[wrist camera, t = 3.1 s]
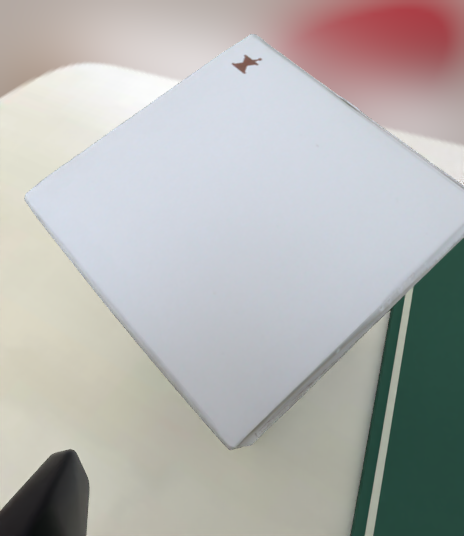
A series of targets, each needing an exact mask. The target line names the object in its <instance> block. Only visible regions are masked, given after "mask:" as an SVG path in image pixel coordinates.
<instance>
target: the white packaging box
mask: <svg viewBox="0 0 464 536" xmlns="http://www.w3.org/2000/svg"><path fill="white" fill-rule="evenodd" d="M24 199H25V201H26V203H27V204H28V206H29V207H30V208H31V210H32V211H33V213H34V214H35V215H36V217H37V218H38V219H39V221H40V222H41V223H42V225H43V226H44V227H45V229H46V230H47V231H48V233H49V234H50V235H51V236H52V238H53V239H54V240H55V241H56V243H57V244H58V245H59V247H60V248H61V249H62V250H63V252H64V253H65V254H66V255H67V257H68V258H69V259H70V260H71V262H72V263H73V264H74V266H75V267H76V268H77V269H78V271H79V272H80V273H81V274H82V276H83V277H84V278H85V279H86V281H87V282H88V283H89V284H90V286H91V287H92V288H93V290H94V291H95V292H96V293H97V295H98V296H99V297H100V298H101V300H102V301H103V302H104V303H105V305H106V306H107V307H108V308H109V310H110V311H111V312H112V313H113V314H114V316H115V317H116V318H117V319H118V320H119V322H120V323H121V324H122V325H123V327H124V328H125V329H126V330H127V331H128V333H129V334H130V335H131V336H132V337H133V339H134V340H135V341H136V342H137V343H138V345H139V346H140V347H141V348H142V349H143V351H144V352H145V353H146V354H147V355H148V357H149V358H150V359H151V360H152V361H153V363H154V364H155V365H156V366H157V367H158V369H159V370H160V371H161V372H162V373H163V375H164V376H165V377H166V378H167V379H168V380H169V382H170V383H171V384H172V385H173V386H174V388H175V389H176V390H177V391H178V392H179V393H180V395H181V396H182V397H183V398H184V399H185V400H186V402H187V403H188V404H189V405H190V406H191V407H192V409H193V410H194V411H195V412H196V413H197V414H198V415H199V417H200V418H201V419H202V420H203V421H204V422H205V423H206V425H207V426H208V427H209V428H210V429H211V430H212V432H213V433H214V434H215V435H216V436H217V437H218V438H219V440H220V441H221V442H222V443H223V444H224V445H225V446H226V447H227V448H228V449H229V450H232V449H236V448H240V447H243V446H249V445H252V444H253V443H254V442H255V441H256V440H257V439H258V438H259V437H260V436H261V435H262V434H263V433H264V432H265V431H266V430H268V429H269V428H270V427H271V426H272V425H273V424H274V423H275V422H276V421H277V420H278V419H279V418H280V417H281V416H282V415H283V414H284V413H285V412H286V411H287V410H288V409H289V408H290V407H291V406H292V405H294V404H295V403H296V402H297V401H298V400H299V399H300V398H301V397H302V396H303V395H304V394H305V393H306V392H307V391H308V390H309V389H310V388H311V387H312V386H313V385H314V384H315V383H316V382H317V381H318V380H319V379H320V378H321V377H322V376H323V375H324V374H325V373H326V372H327V371H328V370H329V369H330V368H331V367H332V366H333V365H334V364H335V363H336V362H337V361H338V360H339V359H340V358H341V357H342V356H343V355H344V354H345V353H346V352H347V351H348V350H349V349H350V348H351V347H352V346H353V345H354V344H355V343H356V342H357V341H358V340H359V339H360V338H361V337H362V336H363V335H364V334H365V333H366V332H367V331H368V330H369V329H370V328H371V327H372V326H373V325H374V324H376V323H377V322H378V321H379V320H380V319H381V318H382V317H383V316H384V315H385V314H386V313H387V312H388V311H389V310H390V309H391V308H392V307H393V306H394V305H395V304H396V303H397V302H398V301H399V300H400V299H401V298H402V297H403V296H404V295H405V294H406V293H407V292H408V291H409V290H410V289H411V288H412V287H413V286H414V285H415V284H416V283H417V282H419V281H420V280H421V279H422V278H423V277H424V276H425V275H426V274H427V273H428V272H429V271H430V270H431V269H432V268H433V267H434V266H435V265H436V264H437V263H438V262H439V261H440V260H441V259H442V258H443V257H444V256H445V255H446V254H447V253H448V252H449V251H450V250H451V249H452V248H453V247H454V246H456V245H457V244H458V243H459V242H460V241H461V240H462V239H463V238H464V186H463V185H462V184H460V183H459V182H458V181H456V180H455V179H454V178H452V177H451V176H449V175H448V174H446V173H445V172H443V171H442V170H440V169H439V168H438V167H436V166H435V165H433V164H432V163H430V162H429V161H428V160H426V159H425V158H424V157H422V156H421V155H420V154H418V153H417V152H416V151H414V150H413V149H412V148H410V147H409V146H408V145H406V144H405V143H403V142H402V141H401V140H399V139H398V138H397V137H395V136H394V135H392V134H391V133H390V132H388V131H387V130H385V129H384V128H383V127H381V126H380V125H378V124H377V123H376V122H374V121H373V120H372V119H370V118H369V117H368V116H366V115H365V114H364V113H362V112H361V111H360V110H359V109H358V108H357V107H355V106H354V105H352V104H351V103H350V102H348V101H347V100H345V99H344V98H342V97H340V96H339V95H337V94H336V93H335V92H333V91H332V90H330V89H329V88H328V87H326V86H325V85H324V84H322V83H321V82H319V81H318V80H316V79H315V78H314V77H312V76H311V75H310V74H308V73H307V72H305V71H304V70H303V69H301V68H300V67H299V66H297V65H296V64H294V63H293V62H292V61H290V60H289V59H288V58H287V57H285V56H284V55H283V54H281V53H280V52H278V51H277V50H275V49H274V48H273V47H271V46H270V45H269V44H267V43H266V42H265V41H264V40H263V39H261V38H260V37H259V36H257V35H256V34H250V35H249V36H247V37H246V38H244V39H243V40H241V41H240V42H238V43H237V44H235V45H233V46H232V47H230V48H229V49H227V50H226V51H224V52H223V53H221V54H220V55H218V56H217V57H215V58H214V59H213V60H211V61H210V62H208V63H207V64H205V65H204V66H202V67H201V68H200V69H198V70H197V71H195V72H194V73H193V74H191V75H190V76H188V77H187V78H185V79H184V80H183V81H181V82H180V83H178V84H177V85H176V86H174V87H173V88H171V89H170V90H169V91H167V92H166V93H164V94H163V95H161V96H160V97H158V98H157V99H156V100H154V101H153V102H152V103H150V104H149V105H148V106H146V107H145V108H143V109H142V110H141V111H139V112H138V113H136V114H135V115H133V116H132V117H130V118H129V119H128V120H126V121H125V122H123V123H122V124H120V125H119V126H118V127H116V128H115V129H113V130H112V131H111V132H109V133H108V134H106V135H105V136H104V137H102V138H101V139H99V140H98V141H97V142H95V143H94V144H92V145H91V146H90V147H88V148H87V149H86V150H84V151H83V152H81V153H80V154H78V155H77V156H75V157H74V158H73V159H71V160H70V161H69V162H67V163H65V164H64V165H62V166H61V167H59V168H58V169H57V170H55V171H54V172H53V173H51V174H50V175H49V176H47V177H46V178H45V179H43V180H42V181H41V182H40V183H38V184H37V185H36V186H35V187H33V188H32V189H31V190H30V191H29V192H27V193H26V195H25V198H24Z"/></svg>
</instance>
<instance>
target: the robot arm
mask: <svg viewBox="0 0 464 536" xmlns="http://www.w3.org/2000/svg"><path fill="white" fill-rule="evenodd" d="M88 503H89V480H88V477H87V475H86V473H85V470H84V468H83V466H82V464H81V462H80V460H79V457H78V455H77V453H76V452H75V451H74V450H71V449H69V450H65V451H61V452H57V453H54V454H52V455H51V456H50V457H49V458H48V459H47V460H46V461H45V462H44V463H43V464H42V465H41V467H40V468H39V469H38V470H37V471H36V472H35V473H34V474H33V475H32V477H31V478H30V479H29V480H28V481H27V482H26V483H25V484H24V485H23V486H22V488H21V489H20V490H19V491H18V492H17V493H16V494H15V495H14V496H13V497H12V499H11V500H10V501H9V502H8V503H7V504H6V505H5V506H4V507H3V508H2V510H1V511H0V536H86V531H87V517H88Z"/></svg>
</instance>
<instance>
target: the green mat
mask: <svg viewBox="0 0 464 536" xmlns="http://www.w3.org/2000/svg"><path fill="white" fill-rule="evenodd" d="M351 536H464V238H463V239H462V240H461V241H460V242H459V243H458V244H457V245H456V246H454V247H453V248H452V249H451V250H450V251H449V252H448V253H447V254H446V255H445V256H444V257H443V258H442V259H441V260H440V261H439V262H438V263H437V264H436V265H435V266H434V267H433V268H432V269H431V270H430V271H429V272H428V273H427V274H426V275H425V276H424V277H423V278H422V279H421V280H420V281H419V282H417V283H416V284H415V285H414V286H413V287H412V288H411V289H410V290H409V291H408V292H407V293H406V294H405V295H404V296H403V297H402V298H401V299H400V300H399V301H398V302H397V303H396V304H395V305H394V306H393V307H392V308H391V313H390V318H389V324H388V330H387V335H386V341H385V346H384V352H383V357H382V363H381V369H380V374H379V380H378V385H377V391H376V397H375V402H374V408H373V413H372V419H371V424H370V430H369V436H368V441H367V447H366V452H365V458H364V463H363V469H362V475H361V480H360V486H359V491H358V497H357V503H356V508H355V514H354V519H353V525H352V530H351Z"/></svg>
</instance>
